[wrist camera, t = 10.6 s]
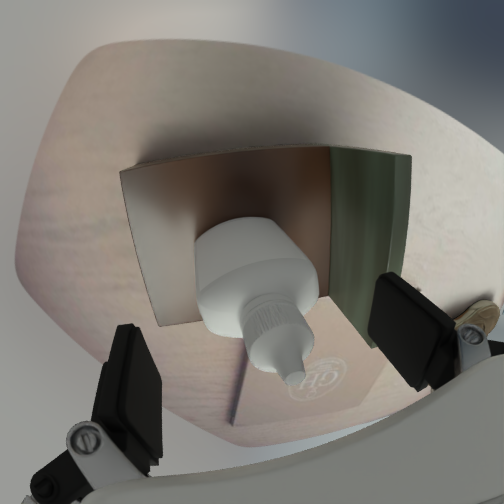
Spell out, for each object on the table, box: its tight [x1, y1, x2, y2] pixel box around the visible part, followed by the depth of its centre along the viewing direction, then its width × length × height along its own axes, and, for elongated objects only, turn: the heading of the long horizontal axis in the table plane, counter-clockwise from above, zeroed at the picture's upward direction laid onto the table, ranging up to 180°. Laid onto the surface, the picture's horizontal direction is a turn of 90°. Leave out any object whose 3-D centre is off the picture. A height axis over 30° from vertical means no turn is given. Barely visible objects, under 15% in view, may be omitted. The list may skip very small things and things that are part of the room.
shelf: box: [119, 144, 412, 349], centre depth 18 cm, size 15×12×12 cm
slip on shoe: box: [428, 300, 500, 386], centre depth 35 cm, size 30×11×9 cm, turn 84°
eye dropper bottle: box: [194, 217, 319, 386], centre depth 13 cm, size 4×6×12 cm
